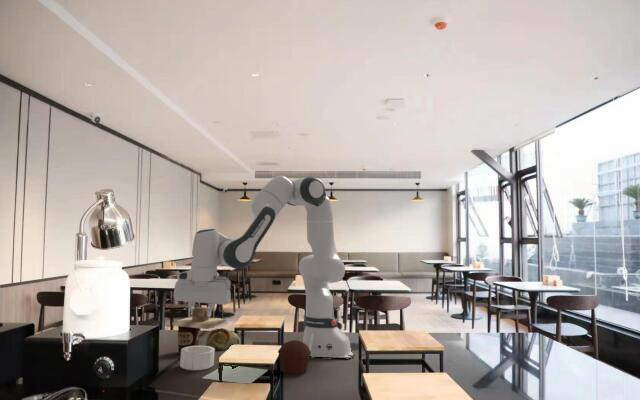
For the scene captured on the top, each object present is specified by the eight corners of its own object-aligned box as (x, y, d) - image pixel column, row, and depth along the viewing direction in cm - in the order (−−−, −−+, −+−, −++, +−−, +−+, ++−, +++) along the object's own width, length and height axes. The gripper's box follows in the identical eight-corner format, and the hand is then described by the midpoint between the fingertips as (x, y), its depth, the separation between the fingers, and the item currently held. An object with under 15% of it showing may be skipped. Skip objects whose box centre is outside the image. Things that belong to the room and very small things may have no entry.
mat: (268, 371, 144) (268, 369, 144) (249, 386, 129) (249, 384, 129) (225, 366, 148) (225, 364, 148) (201, 379, 133) (201, 378, 133)
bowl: (219, 365, 149) (220, 347, 150) (203, 374, 139) (204, 355, 139) (190, 361, 152) (192, 344, 152) (173, 370, 141) (174, 351, 142)
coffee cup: (191, 356, 158) (193, 320, 159) (170, 354, 159) (173, 319, 161) (202, 351, 166) (204, 317, 168) (182, 349, 168) (185, 315, 169)
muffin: (301, 379, 138) (303, 347, 139) (271, 374, 141) (272, 343, 142) (314, 369, 149) (316, 340, 150) (286, 365, 153) (287, 336, 154)
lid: (225, 322, 151) (226, 307, 152) (207, 329, 139) (208, 312, 139) (193, 319, 154) (194, 304, 155) (172, 325, 142) (173, 309, 142)
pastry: (205, 351, 167) (206, 330, 168) (205, 343, 179) (206, 324, 180) (241, 350, 171) (242, 330, 172) (239, 343, 183) (240, 324, 184)
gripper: (235, 276, 149) (232, 317, 147) (182, 273, 154) (179, 312, 152) (226, 277, 143) (224, 319, 141) (172, 274, 148) (169, 314, 146)
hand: (200, 315), depth 147 cm, fingers closed on lid, 4 cm apart
